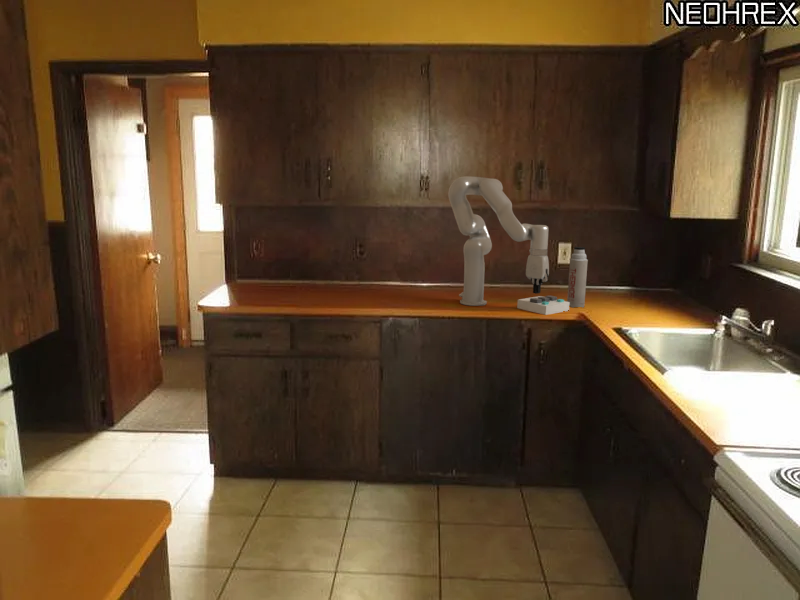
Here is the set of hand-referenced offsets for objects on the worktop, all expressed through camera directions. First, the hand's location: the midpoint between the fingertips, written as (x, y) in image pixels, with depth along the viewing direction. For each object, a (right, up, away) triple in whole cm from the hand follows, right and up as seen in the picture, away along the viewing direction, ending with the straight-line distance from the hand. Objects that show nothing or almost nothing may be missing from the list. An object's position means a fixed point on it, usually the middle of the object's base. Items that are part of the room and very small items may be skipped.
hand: (536, 293), depth 299 cm
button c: (+8, -5, +7) cm, 12 cm away
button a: (0, -6, +1) cm, 6 cm away
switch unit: (+4, -7, +5) cm, 10 cm away
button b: (+4, -6, +4) cm, 8 cm away
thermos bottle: (+21, -6, +13) cm, 26 cm away
